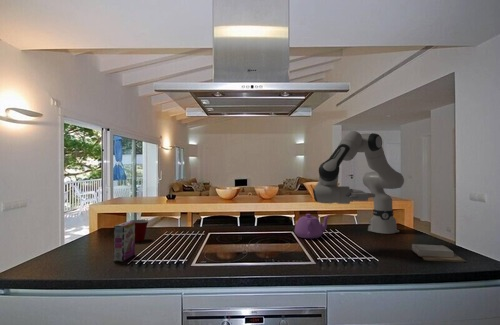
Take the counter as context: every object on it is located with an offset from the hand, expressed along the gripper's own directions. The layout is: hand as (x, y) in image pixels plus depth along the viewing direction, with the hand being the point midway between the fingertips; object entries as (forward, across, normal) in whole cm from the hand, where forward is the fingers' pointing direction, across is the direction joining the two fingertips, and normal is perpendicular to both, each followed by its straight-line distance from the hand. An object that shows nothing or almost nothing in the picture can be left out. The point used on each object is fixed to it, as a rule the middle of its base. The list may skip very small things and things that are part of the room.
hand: (374, 195), depth 143 cm
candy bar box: (-118, -33, +28) cm, 126 cm away
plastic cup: (-131, -2, +28) cm, 134 cm away
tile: (+17, -2, +26) cm, 31 cm away
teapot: (-31, +26, +28) cm, 49 cm away
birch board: (+27, -2, +28) cm, 39 cm away
